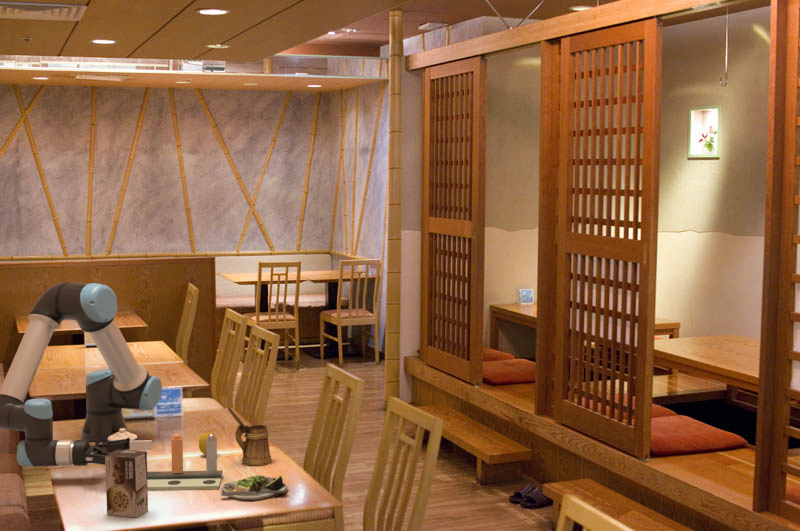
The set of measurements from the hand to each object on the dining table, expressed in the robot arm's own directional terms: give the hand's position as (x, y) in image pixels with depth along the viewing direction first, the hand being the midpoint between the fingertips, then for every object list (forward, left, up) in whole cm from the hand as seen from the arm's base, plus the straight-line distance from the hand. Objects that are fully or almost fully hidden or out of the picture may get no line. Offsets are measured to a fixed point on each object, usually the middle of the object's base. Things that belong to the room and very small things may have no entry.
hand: (148, 451), depth 281 cm
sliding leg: (0, +8, -6) cm, 10 cm away
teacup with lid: (-16, -11, -9) cm, 21 cm away
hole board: (+7, +9, -8) cm, 14 cm away
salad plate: (+12, +32, -9) cm, 36 cm away
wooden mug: (-16, +28, -9) cm, 34 cm away
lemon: (-24, +14, -9) cm, 29 cm away
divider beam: (0, +8, -8) cm, 12 cm away
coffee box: (+28, -1, -9) cm, 29 cm away
